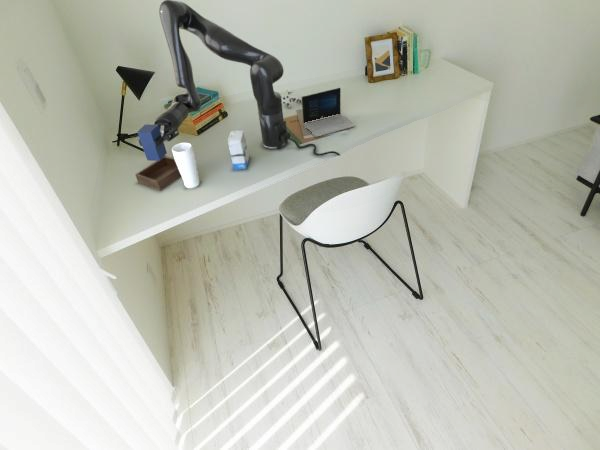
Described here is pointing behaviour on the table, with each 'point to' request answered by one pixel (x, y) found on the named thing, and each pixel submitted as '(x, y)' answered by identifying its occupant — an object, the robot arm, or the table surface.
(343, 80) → the table surface
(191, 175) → the drinking glass
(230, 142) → the ink box
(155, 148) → the carton
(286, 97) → the molecule model
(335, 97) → the laptop
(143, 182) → the desk tray
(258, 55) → the robot arm
